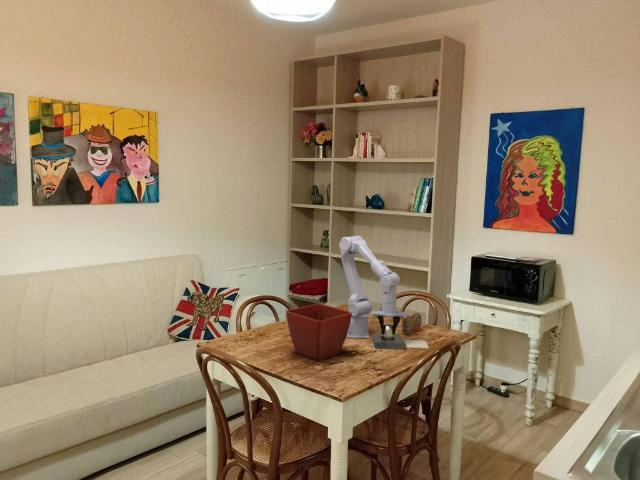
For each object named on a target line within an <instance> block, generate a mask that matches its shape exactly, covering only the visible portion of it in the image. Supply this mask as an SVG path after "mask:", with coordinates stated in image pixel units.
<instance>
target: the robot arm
mask: <svg viewBox="0 0 640 480" xmlns="http://www.w3.org/2000/svg"><path fill="white" fill-rule="evenodd" d="M338 246H339V249H340V258H341V262H342V263H341V264H342V268H343V271H344V275H345V278H346V282H347V286H348V289H349V293H350V296H349V299H348V300H347V304H348V309H347V310H348V312H351V313H352V317H351V322H350V326H349V329H348V333H347V336H346V338H350V339H355V338H357V339H369V338H370V334H369V316H370V317H371V318H377V320H378V323H379V326H380V330H381V332H380V334H384V324H385V319H384V318H392V325H393V335H395V334H396V331H397V328H398V326H399V324H400V322H401V318H406V316H407V315H408V314H407V312H406V311H396V310H397V288H398V286H399V284H400V283H401V279H400V276H399V274H398V273H396V272H393V271H392V270H391V269H389V267H388V266H387V265H386V262H385V261H383V260H382V259H377V257H376V256H375V255H374V253H373V252H372V250H371V249H370V248H369V247H368V246H367V242H366V240H365V239H364V238H363V237H362V236H361V235H353V236H344V237H342V238H341V239H340V241H339V243H338ZM358 254H360V256H361V257H362V258H363V259H365V260H366V261H367V263H369V265H370V270H371V271H372V272H373V273H374V274H375V276H376V277H377V278H378V279H379V283H380V286H381V292H382V300H381V301H382V302H381V303H382V304H381V310H377V311H376V310H375V311H372V310H373V304H372V302H371V301H370V299H369V296H368V295H367V294H366V293H364V290H363V288H362V284H361V280H360V276H359V273H358V269H357V265H356V260H355V257H356V256H357V255H358Z"/></svg>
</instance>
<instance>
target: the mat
mask: <svg viewBox="0 0 640 480" xmlns="http://www.w3.org/2000/svg"><path fill="white" fill-rule="evenodd" d="M403 342H404V346H406V348H407V349H430V347H429V344H428V343H427V341H426V340H409V339H403Z"/></svg>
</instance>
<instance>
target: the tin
mask: <svg viewBox="0 0 640 480" xmlns="http://www.w3.org/2000/svg"><path fill="white" fill-rule="evenodd" d="M421 326H422V316H421V313H420V312H411V313H409V314H406V318H404V317H402V321H401V329H402V330H401V331H402V333H403V335H409V336H410V335H411V336H412V335H413V334H414V333H417V332H418V331H419V330H420V328H421Z"/></svg>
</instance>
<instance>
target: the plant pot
mask: <svg viewBox="0 0 640 480" xmlns="http://www.w3.org/2000/svg"><path fill="white" fill-rule="evenodd" d="M285 313H286V314H285V315H286V322H287V327H288V330H289V335H290V338H291V342H292V345H293V348H294V350H295V352H296V353H297V354H300V355H302V356H305V357H308V358H310V359H312V360H316V361H320V360H324V359H327V358H329V357H334V356H336V355H339V354H340V353H341V351H342V349H343V346H344V343H345V341H346V338H347V333H348V329H349V326H350V322H351V317H352V313H351V312H349V310H348V311H347V310H344V309H340V308H336V307H333V306H330V305H325V304H322V303H316V304H310V305H306V306H302V307H297V308H292V309H288V310H285Z"/></svg>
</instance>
